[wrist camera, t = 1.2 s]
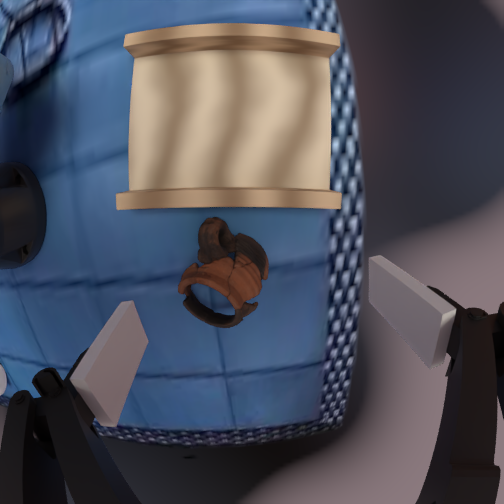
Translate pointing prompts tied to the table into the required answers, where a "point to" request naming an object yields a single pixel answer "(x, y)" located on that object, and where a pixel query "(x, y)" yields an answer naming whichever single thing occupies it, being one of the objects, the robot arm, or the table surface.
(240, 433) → the table surface
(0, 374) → the white cylinder
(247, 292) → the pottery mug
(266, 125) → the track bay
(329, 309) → the table surface
